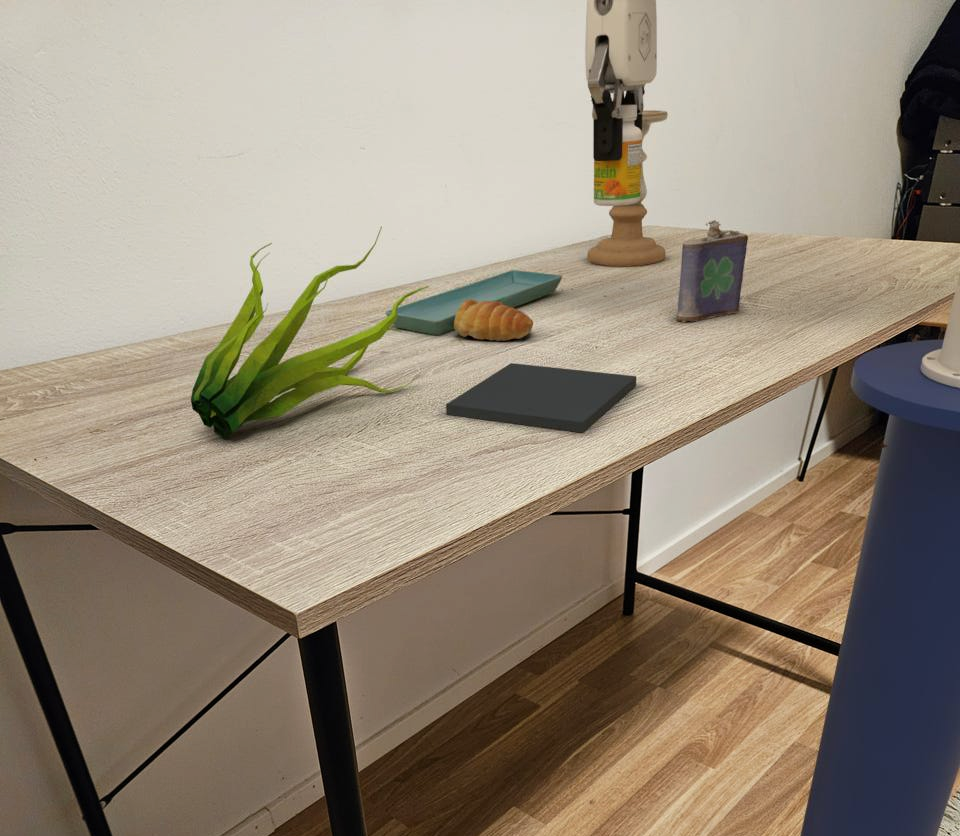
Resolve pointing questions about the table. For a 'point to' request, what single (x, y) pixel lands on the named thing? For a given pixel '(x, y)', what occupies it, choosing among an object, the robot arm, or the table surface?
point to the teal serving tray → (504, 288)
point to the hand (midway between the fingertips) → (617, 155)
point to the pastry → (491, 321)
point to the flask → (711, 274)
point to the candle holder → (630, 223)
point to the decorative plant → (276, 362)
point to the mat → (543, 397)
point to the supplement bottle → (621, 167)
